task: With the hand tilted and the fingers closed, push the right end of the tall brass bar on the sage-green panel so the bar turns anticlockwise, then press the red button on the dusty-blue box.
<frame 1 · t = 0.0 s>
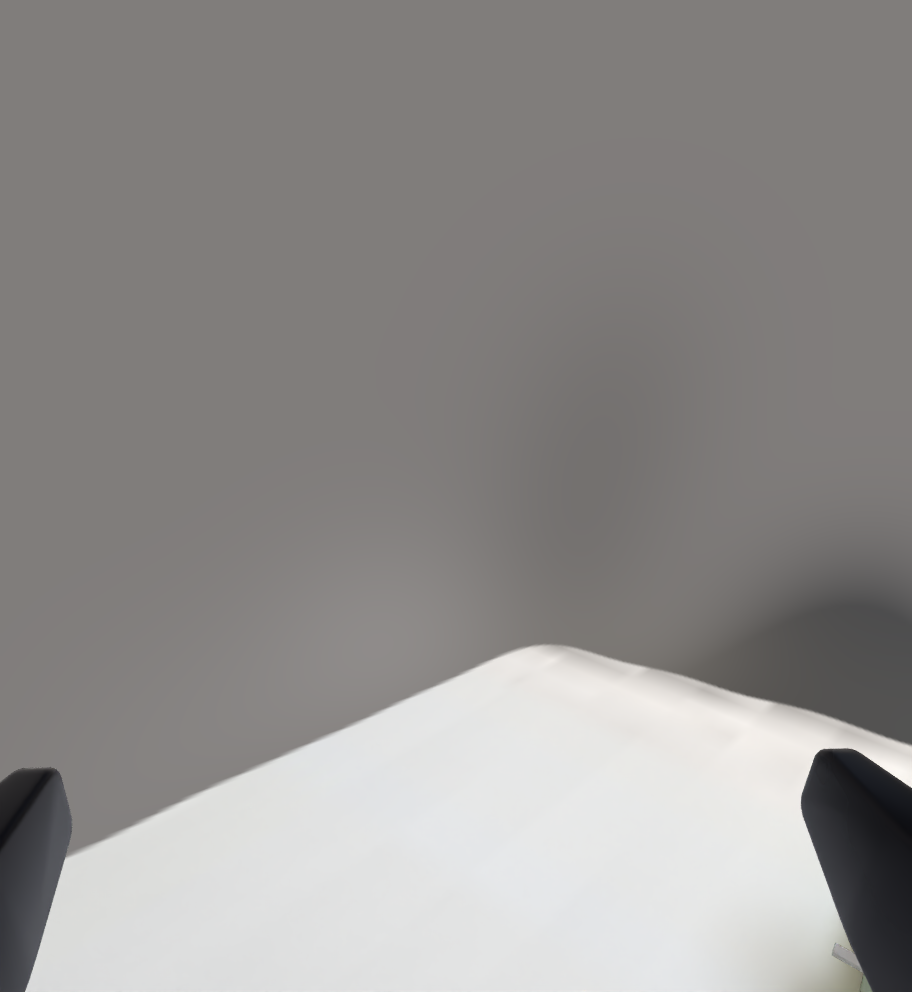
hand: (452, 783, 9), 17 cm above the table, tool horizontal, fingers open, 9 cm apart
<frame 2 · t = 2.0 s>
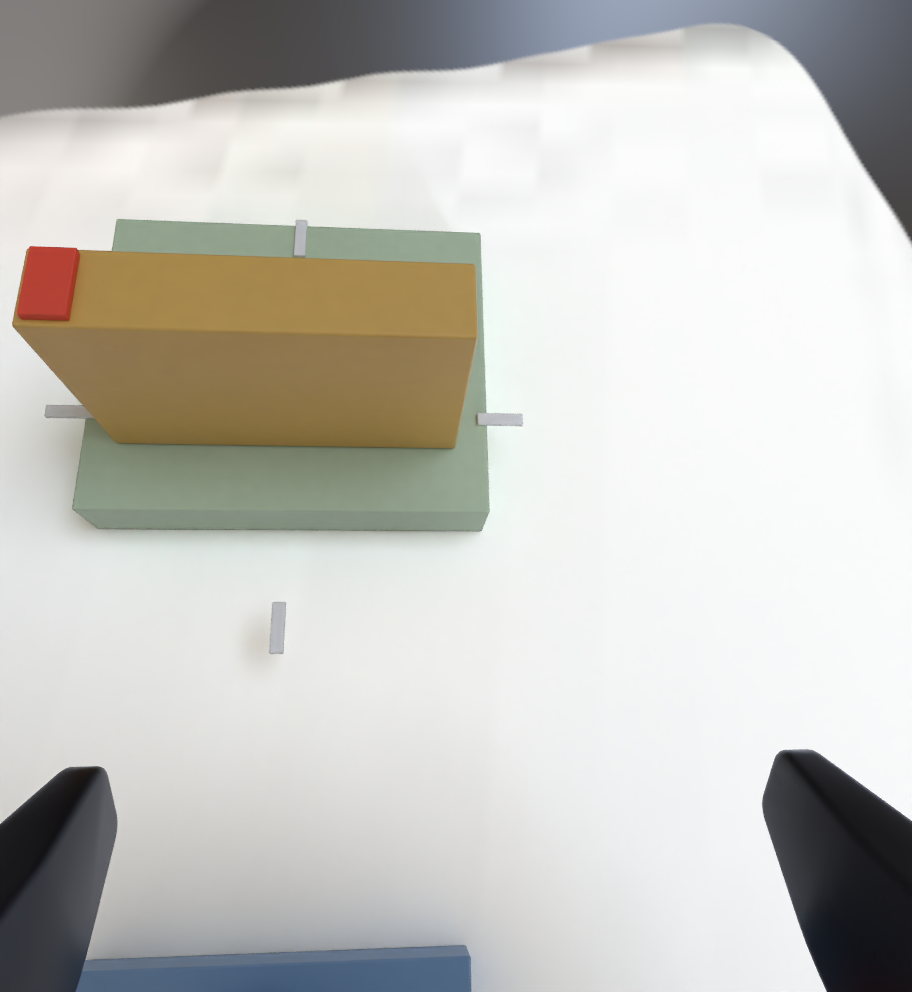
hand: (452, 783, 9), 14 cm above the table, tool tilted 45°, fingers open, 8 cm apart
brass bar: (274, 361, 20), point 5 cm above the table, hinge at 0.0°
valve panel: (301, 387, 25), on the table
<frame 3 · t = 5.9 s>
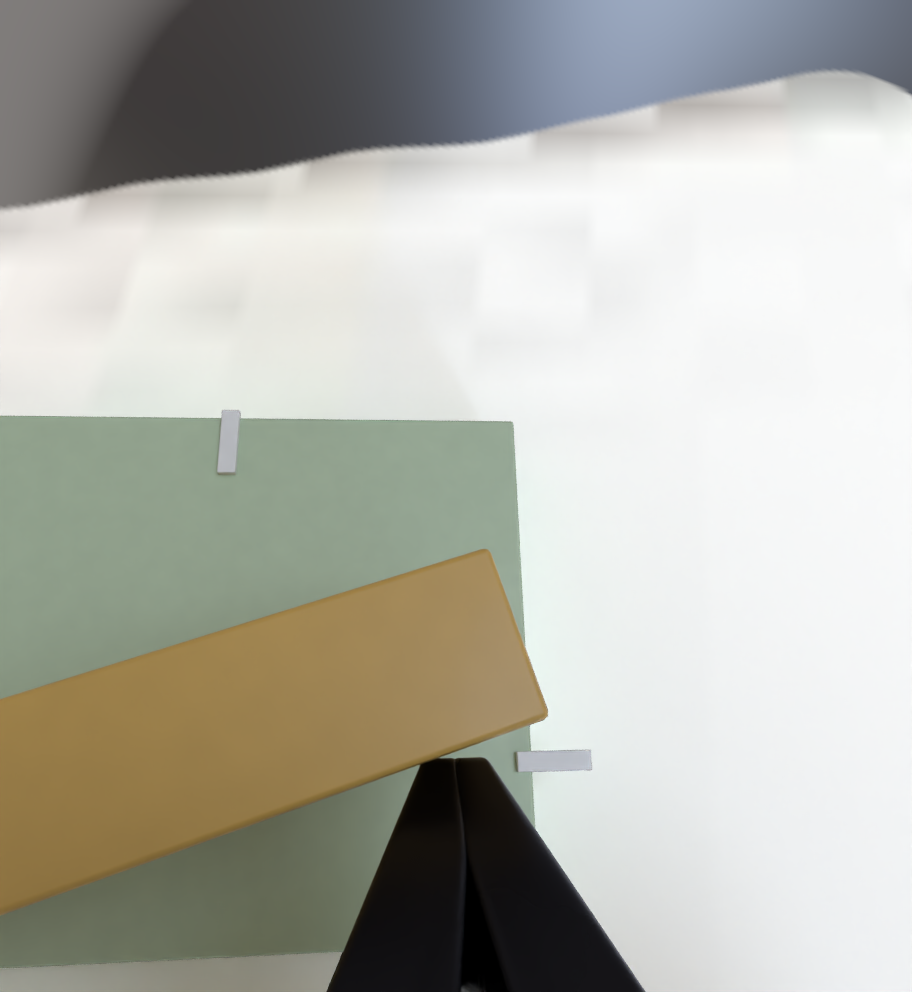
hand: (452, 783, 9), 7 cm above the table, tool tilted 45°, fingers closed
brass bar: (147, 775, 10), point 5 cm above the table, hinge at 17.5°, touching gripper
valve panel: (234, 669, 16), on the table
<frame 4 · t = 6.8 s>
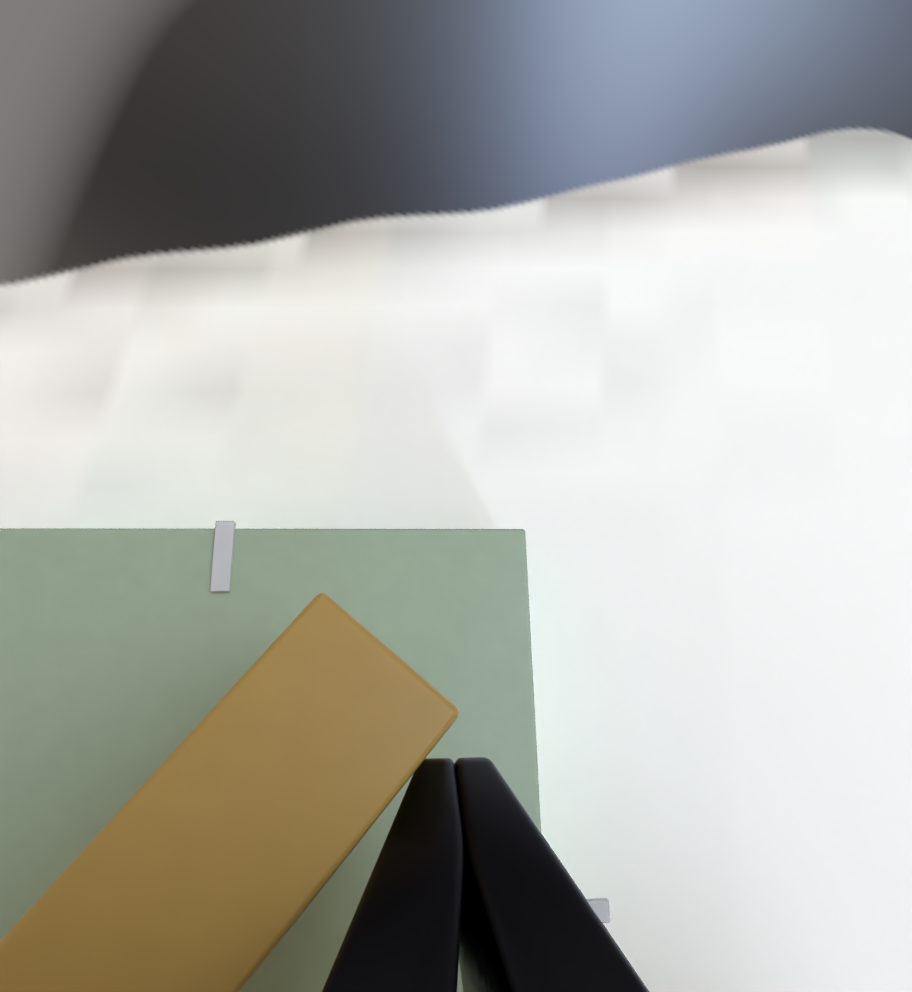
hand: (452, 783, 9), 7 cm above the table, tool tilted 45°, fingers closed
brass bar: (128, 987, 9), point 5 cm above the table, hinge at 49.2°, touching gripper
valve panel: (228, 793, 15), on the table
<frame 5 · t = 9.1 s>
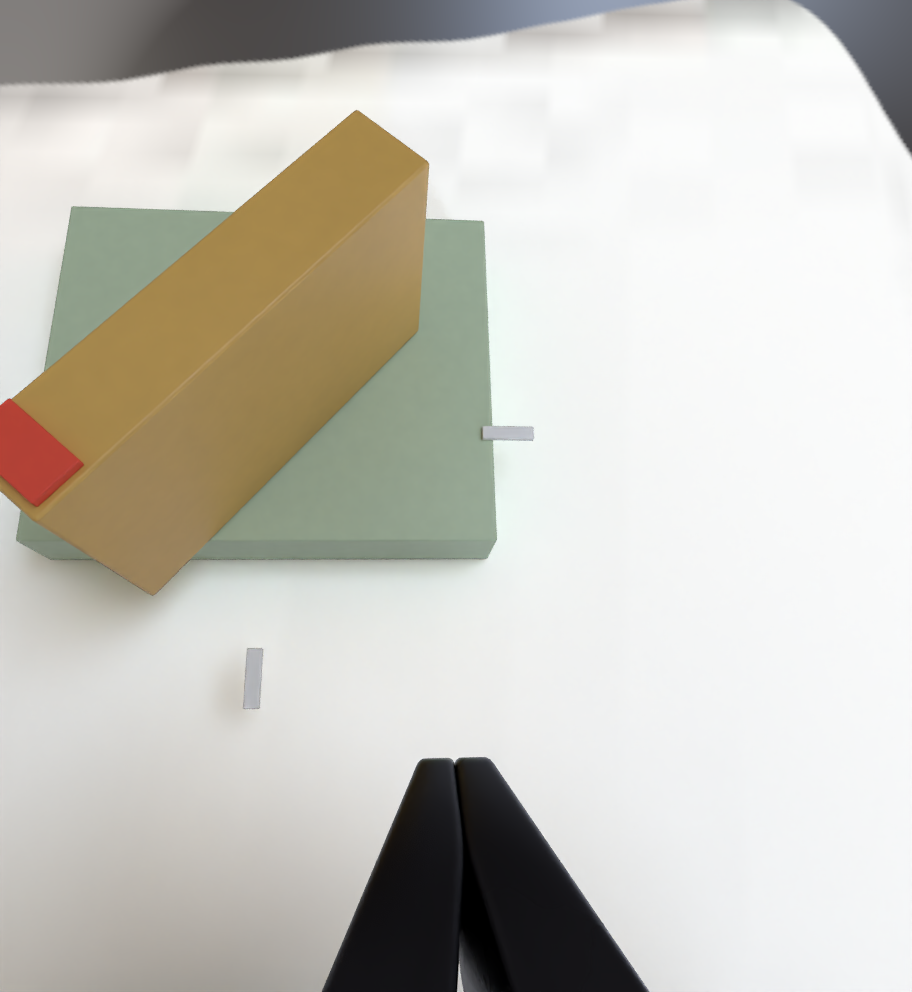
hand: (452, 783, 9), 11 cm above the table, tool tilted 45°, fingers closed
brass bar: (245, 371, 17), point 5 cm above the table, hinge at 49.2°
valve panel: (282, 396, 23), on the table
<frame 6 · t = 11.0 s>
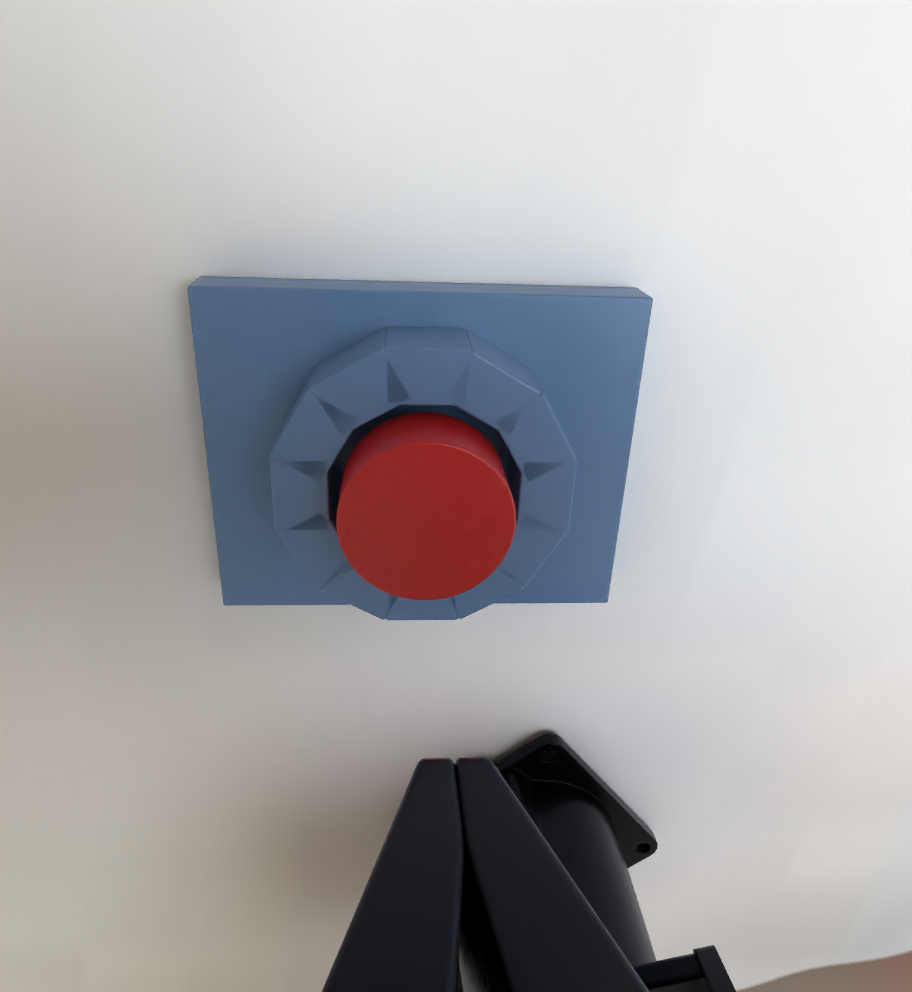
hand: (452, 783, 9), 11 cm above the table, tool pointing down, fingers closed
button box: (420, 444, 19), on the table
red button: (425, 506, 16), point 3 cm above the table, slide at 0.1 cm
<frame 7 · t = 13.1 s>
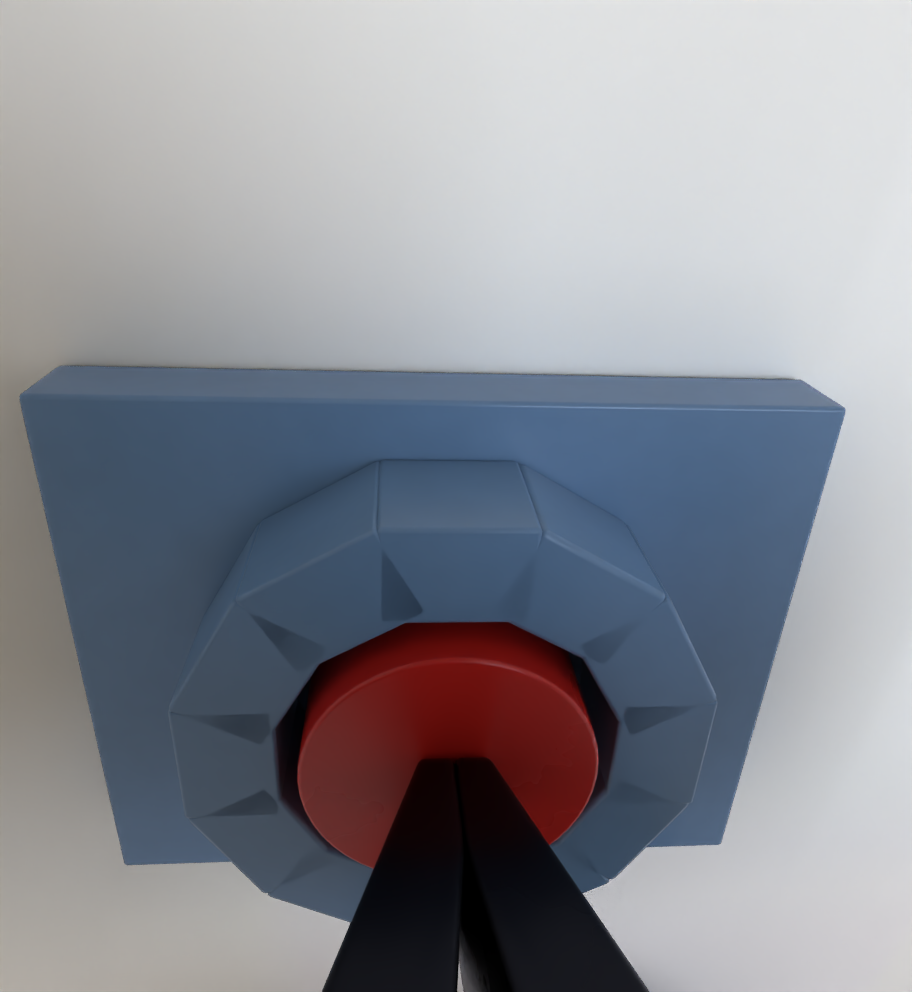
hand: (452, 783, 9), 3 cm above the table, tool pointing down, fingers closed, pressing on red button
button box: (436, 617, 12), on the table
red button: (445, 727, 10), point 2 cm above the table, slide at -1.0 cm, touching gripper
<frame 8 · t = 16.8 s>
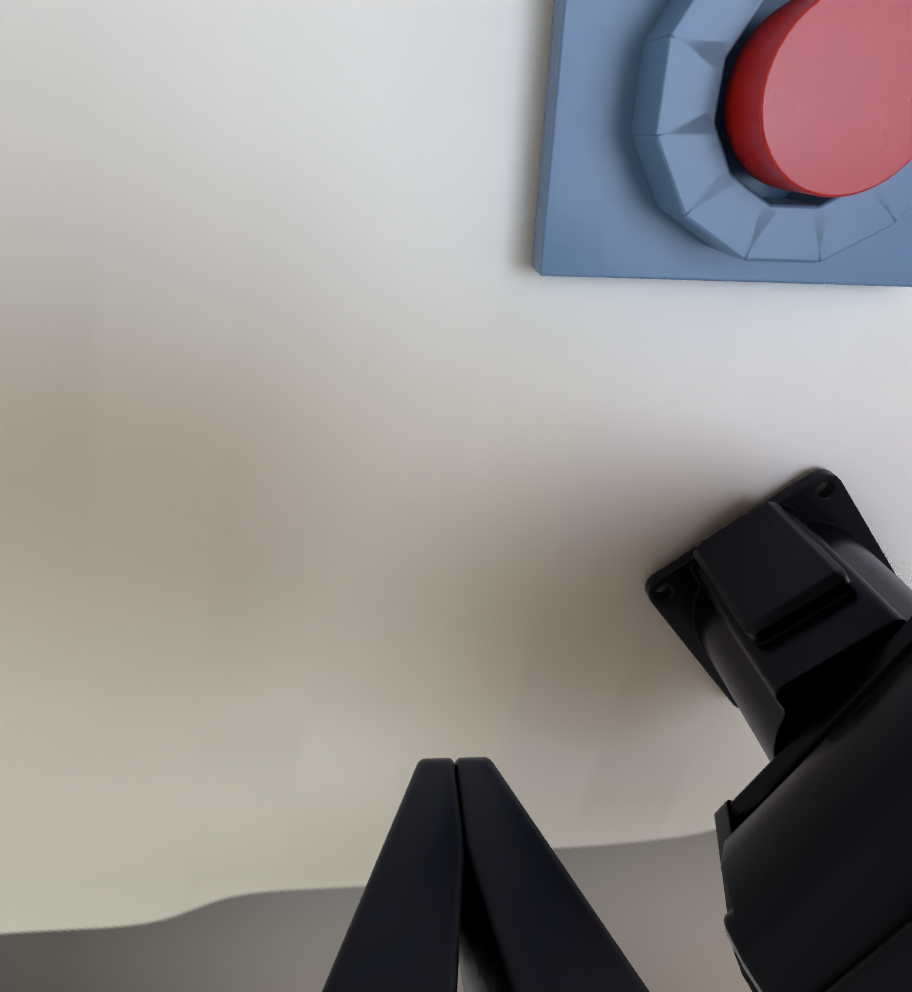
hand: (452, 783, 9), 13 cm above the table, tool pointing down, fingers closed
button box: (755, 98, 18), on the table
red button: (832, 94, 15), point 3 cm above the table, slide at 0.1 cm
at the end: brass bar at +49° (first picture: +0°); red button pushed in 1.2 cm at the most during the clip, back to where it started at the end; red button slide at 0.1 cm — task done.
